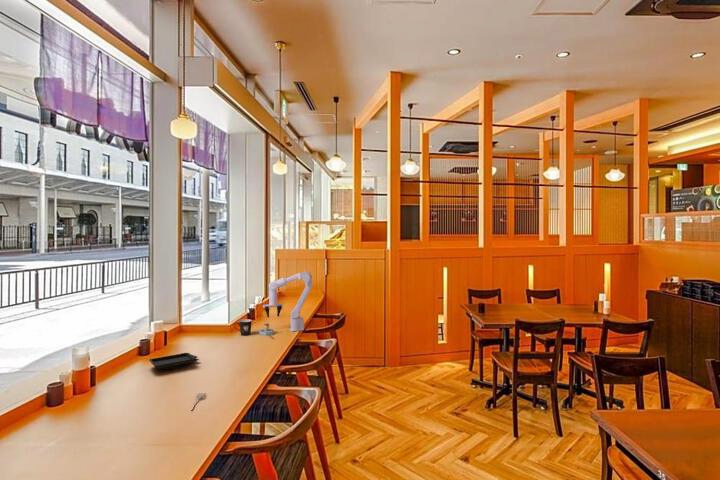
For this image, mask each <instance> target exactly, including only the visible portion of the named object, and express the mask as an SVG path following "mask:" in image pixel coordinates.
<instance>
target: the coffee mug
mask: <svg viewBox="0 0 720 480" xmlns="http://www.w3.org/2000/svg"><path fill="white" fill-rule="evenodd" d="M252 323H253V320H252V319H249V318H248V319H247V318H245V319H240V320H239V321H238V322H235V323H234V324H233V328H234V329H235V330H237V331H238V332H240V336H242V337H248V336H250V335H251V331H252ZM235 325H238V326H239V328H237V327H236V326H235Z"/></svg>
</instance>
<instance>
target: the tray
mask: <svg viewBox="0 0 720 480" xmlns="http://www.w3.org/2000/svg"><path fill="white" fill-rule="evenodd" d="M197 358H198V356H197V355H193V354H191V353H190V352H183V353H177V354H171V355H166V356H161V357H155V358H149V359H148V361H149V362H150V363H151V365H153V367H154V368H155V369H162V368H163V370H170V371H171V370H173V371H174V369H175V370H177V368H178V369H179V367H180V368H182V367H184V366H187V365H189V364H190V362H191V363H193V362H195V361H197ZM188 363H189V364H188ZM183 365H184V366H183ZM181 366H182V367H181Z"/></svg>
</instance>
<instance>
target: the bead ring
mask: <svg viewBox="0 0 720 480" xmlns="http://www.w3.org/2000/svg"><path fill="white" fill-rule="evenodd" d="M274 334H275V329H273V328H269V331H264V328H261V329H259V330H258V335H259V336H264V337H265V336H268V337H269V335H271V336H273V335H274Z"/></svg>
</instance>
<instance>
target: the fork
mask: <svg viewBox="0 0 720 480" xmlns="http://www.w3.org/2000/svg"><path fill="white" fill-rule="evenodd" d="M204 393H205V392H199V393H197V394H196V396H195V397H196V401H195V402H194V403H195V404H196V403H198V402H199V401H200V399H201V398H202V397H203V396H204ZM196 405H197V404H196Z"/></svg>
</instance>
